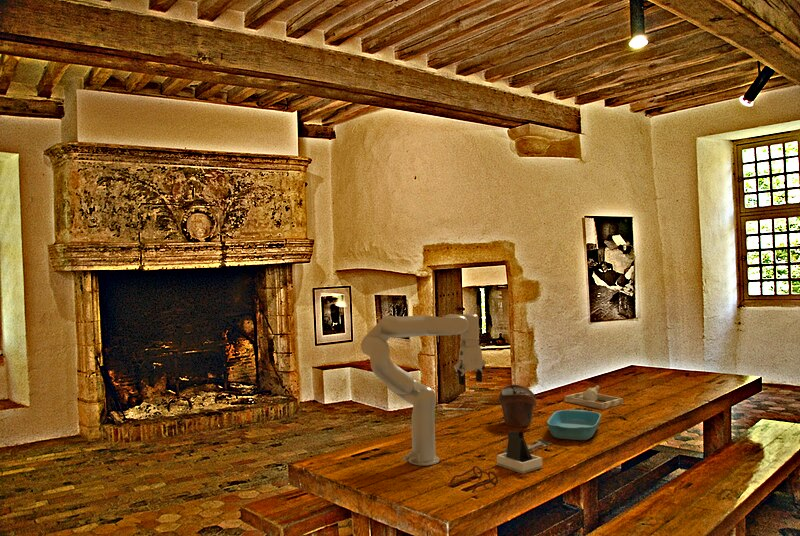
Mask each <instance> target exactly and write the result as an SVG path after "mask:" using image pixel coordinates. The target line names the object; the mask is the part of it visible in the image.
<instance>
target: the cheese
mask: <svg viewBox="0 0 800 536" xmlns="http://www.w3.org/2000/svg"><path fill="white" fill-rule="evenodd" d="M600 388H601V387H600V385H597V384H596V386H595V387H589V388H587V389H586V390H585V391H583V392H584V394H583V395H581V396H579V397H578V398H579V399H584V400H589V401H594V402H597V400H598V399H597V394H598V392H599V390H600Z"/></svg>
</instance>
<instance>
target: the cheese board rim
mask: <svg viewBox="0 0 800 536" xmlns="http://www.w3.org/2000/svg"><path fill="white" fill-rule="evenodd" d="M584 392H585V391H582V392H577V393H573V394H572V393H571V394H569V395H564V402H565V403H570V404H575V405H578V406H579V405H580V406H584V407H589V408H593V409H598V410H605V409H608V408H613V407H616V406H621V405H624V398H621V397H617V396H611V395H606V394H601V393H597V400H598V401H603V402H597V401H595V402H594V401H589V400H584V399H579V398H578V397H579V396H581V395H583V394H584Z"/></svg>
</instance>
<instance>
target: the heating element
mask: <svg viewBox="0 0 800 536" xmlns="http://www.w3.org/2000/svg"><path fill="white" fill-rule="evenodd" d="M526 445H527V447H528V450H529V452H530V453H531V454H533V453H535V452H536V450H537V449H539V448H542V447H549V446H550V445H552V442H549V441H547V440H545V439H541V438H538V439H537V440H534V442H533V443H532V444H531V445H530V444H526ZM503 450H504V453H507V448H504V447H503Z"/></svg>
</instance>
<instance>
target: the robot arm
mask: <svg viewBox="0 0 800 536" xmlns="http://www.w3.org/2000/svg"><path fill="white" fill-rule="evenodd" d="M479 331H480V330H479V316H478V314H476V313H464V314H456V313H455V314H454V313H449V314H446V315H444V316H432V315H427V314H426V315H425V314H423V315H421V314H419V315H409V316H407V315H405V316H395V315H386V316H383V318H381V319H380V320H379V321H378V322H377V323H376V324H375V326H373V327H372V328H371V330H370V331H369V332H367V334H366V335H365V336H363V338H362V340H361V343H360V350H361V352H362V353H363V354H364V355H366V356H368V357H369V359H370V360H369V362H370V368H371V371H372V372H373V374H374V375H375V377H377V378H378V379H379V380H381V382H383V383H384V385H385V387H386V388H387V389H388V390H389V391H391V392H392V393H393V394H395V395H396V396H398V397H399V398H401V399H402V400H403V401H405V402H406V403H408V404H410V405H412V406H413V407H412V411H411V412H412V413H411V450H410V451H409V454H405V455H403V456H402V460H403V461H407V460H408V463H410V464H411V465H415V466H419V467H421V466H424V467H425V466H432V465H435V464H438V463H439V462H440V457H439V456H437V455H436V430H435V429H436V426H435V424H436V422H435V414H436V413H435V411H436V406H437V405H436V404H437V396H436V393H435V391H434V389H432V388H431V387H430V386H428V385H427V384H426V385H425V384H423V383H421V382H419V381H417V380H415V379H414V376H412V374H410V373H409V372H408V371H406V370H404V369H403V368H401V367H400V366H399V365H397V364H396V363H395V362H394V361H392V359H391V356H390V345H389V343H388V341H389V339H390V338H394V339H395V338H396V339H397V338H399V339H401V338H413V337H434V336H455V335H460V341H459V345H460V346H459V347H460V348H459V353H458V362H457V363H456V364H454V365H453V368H454V371H455V373H456V374H457V376H458V384H459V385H461V386H465V385H466V376H465V373H466V372H471V371H476V372H475V382H478V383H483V373H484V371H485V368H486V365H487V361H486V360H485V359H483V351H482V347H481V345H480V340H479V339H480V338H479V335H480V334H479Z"/></svg>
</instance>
